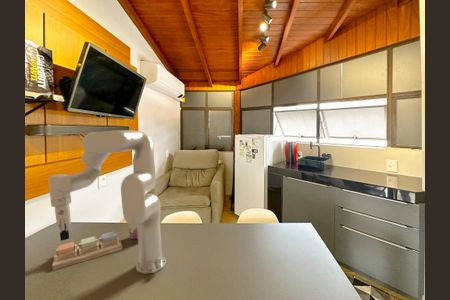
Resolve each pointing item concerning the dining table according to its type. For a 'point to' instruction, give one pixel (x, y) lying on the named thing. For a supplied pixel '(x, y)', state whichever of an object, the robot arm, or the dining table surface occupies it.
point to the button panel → (86, 253)
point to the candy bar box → (133, 232)
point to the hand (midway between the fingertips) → (64, 239)
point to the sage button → (88, 242)
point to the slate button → (108, 237)
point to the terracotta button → (65, 248)
